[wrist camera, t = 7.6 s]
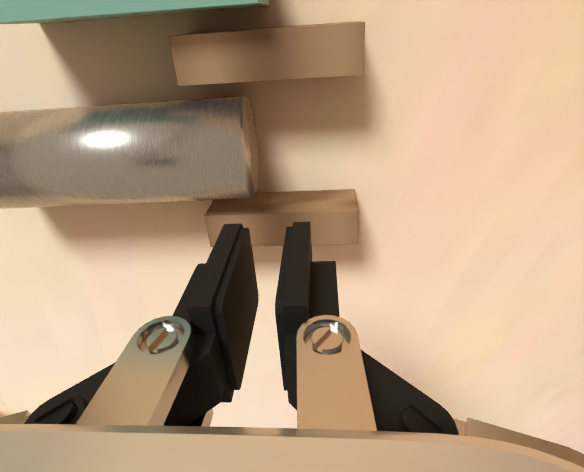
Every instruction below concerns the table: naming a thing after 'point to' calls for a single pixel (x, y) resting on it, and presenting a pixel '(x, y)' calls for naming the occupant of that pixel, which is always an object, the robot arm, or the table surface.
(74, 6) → the teal V-block
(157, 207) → the table surface
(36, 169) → the steel axle
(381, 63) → the table surface
